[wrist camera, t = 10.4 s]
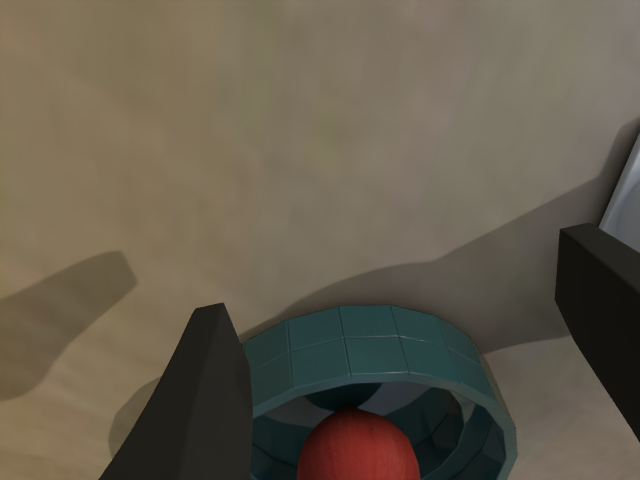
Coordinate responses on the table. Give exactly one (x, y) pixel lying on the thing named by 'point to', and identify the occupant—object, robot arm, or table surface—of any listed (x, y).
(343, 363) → the teal bowl
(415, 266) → the table surface
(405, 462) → the onion
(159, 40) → the table surface
